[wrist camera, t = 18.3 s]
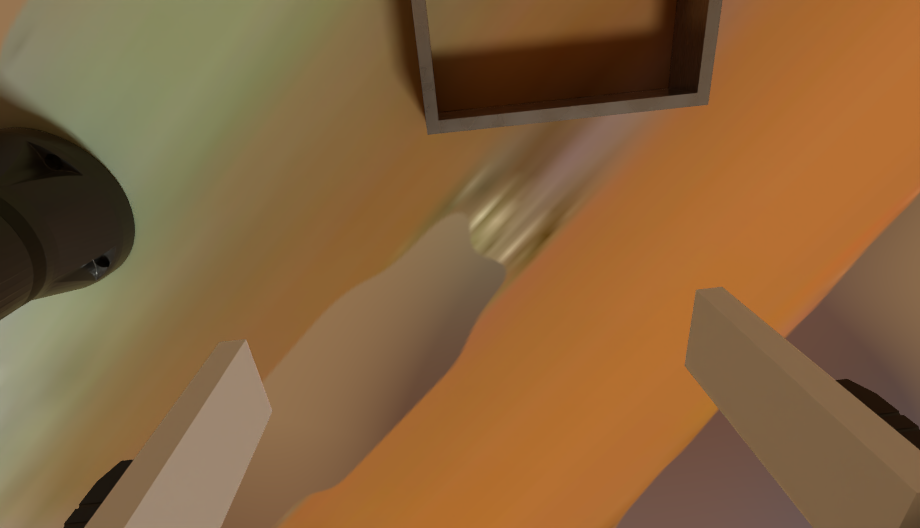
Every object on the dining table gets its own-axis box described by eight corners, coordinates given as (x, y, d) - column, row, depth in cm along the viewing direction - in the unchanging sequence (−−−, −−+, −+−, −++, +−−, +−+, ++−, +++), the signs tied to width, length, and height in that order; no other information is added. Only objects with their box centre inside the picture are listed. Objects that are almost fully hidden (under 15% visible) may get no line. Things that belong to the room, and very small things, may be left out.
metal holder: (428, 125, 41) (427, 134, 37) (405, -61, 35) (401, -77, 31) (677, 98, 41) (707, 104, 37) (698, -91, 35) (737, -112, 31)
